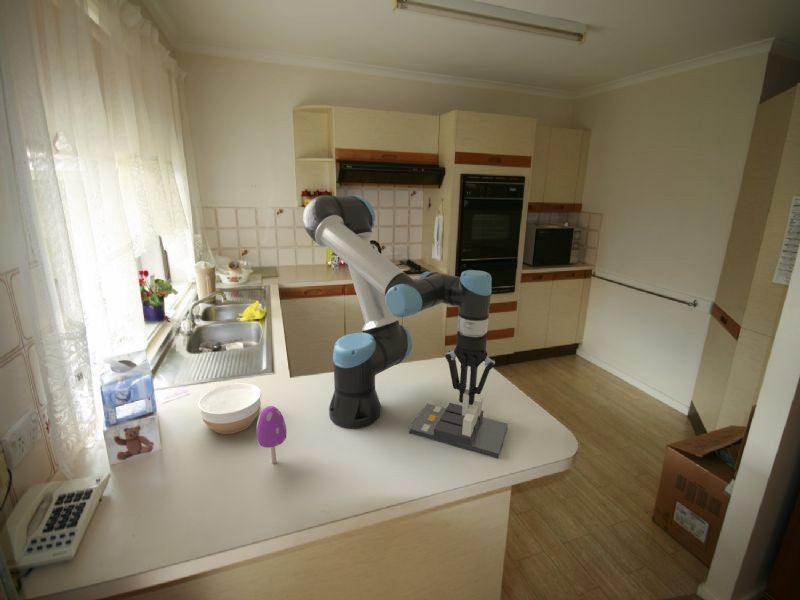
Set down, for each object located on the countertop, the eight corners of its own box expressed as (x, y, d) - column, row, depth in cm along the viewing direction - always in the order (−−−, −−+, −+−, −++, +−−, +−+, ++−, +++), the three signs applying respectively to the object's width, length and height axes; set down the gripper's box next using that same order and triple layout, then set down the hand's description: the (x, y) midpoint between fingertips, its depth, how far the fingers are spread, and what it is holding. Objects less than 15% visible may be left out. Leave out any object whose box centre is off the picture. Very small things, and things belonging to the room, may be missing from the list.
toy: (272, 475, 90) (267, 419, 85) (253, 464, 93) (247, 409, 89) (294, 459, 95) (290, 405, 91) (275, 449, 98) (271, 396, 94)
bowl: (238, 401, 120) (235, 377, 117) (275, 416, 112) (273, 392, 110) (189, 427, 106) (185, 402, 104) (227, 447, 99) (223, 420, 96)
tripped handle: (466, 424, 104) (467, 409, 103) (469, 418, 107) (470, 403, 105) (474, 426, 103) (476, 411, 102) (477, 420, 106) (478, 405, 105)
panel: (409, 433, 106) (409, 427, 105) (426, 407, 118) (427, 402, 118) (498, 458, 97) (498, 452, 96) (507, 428, 109) (507, 422, 108)
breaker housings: (433, 435, 103) (434, 413, 101) (449, 408, 115) (450, 388, 113) (470, 446, 99) (472, 423, 97) (482, 417, 111) (484, 396, 109)
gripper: (442, 332, 97) (438, 414, 104) (495, 341, 92) (486, 427, 99) (451, 323, 104) (446, 401, 111) (500, 331, 99) (492, 412, 106)
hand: (465, 413), depth 105 cm, fingers closed
